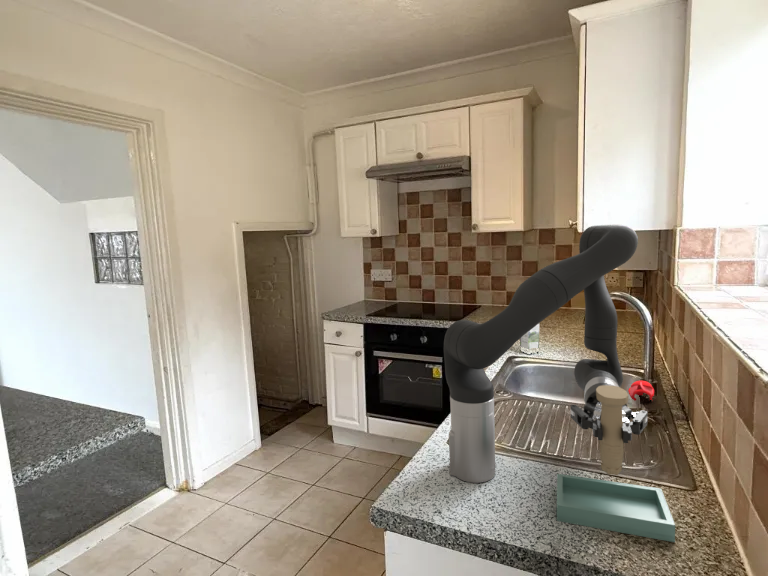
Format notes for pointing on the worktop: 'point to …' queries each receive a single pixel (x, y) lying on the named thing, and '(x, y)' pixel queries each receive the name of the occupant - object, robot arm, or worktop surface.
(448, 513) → the worktop surface
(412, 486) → the worktop surface
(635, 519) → the tray
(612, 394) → the handle
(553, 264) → the robot arm
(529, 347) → the syrup box
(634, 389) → the red lobed piece
